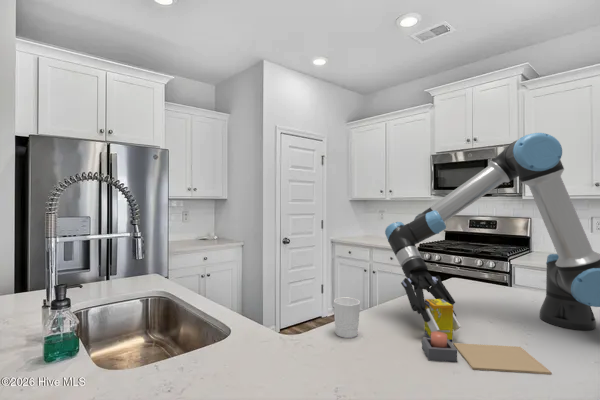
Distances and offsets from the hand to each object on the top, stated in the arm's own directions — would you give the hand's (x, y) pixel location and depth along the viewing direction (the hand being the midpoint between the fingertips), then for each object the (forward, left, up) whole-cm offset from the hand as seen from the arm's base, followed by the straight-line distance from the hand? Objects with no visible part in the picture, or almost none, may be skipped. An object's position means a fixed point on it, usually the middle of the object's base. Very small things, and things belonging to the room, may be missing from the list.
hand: (446, 330), depth 99 cm
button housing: (+4, +8, -4) cm, 10 cm away
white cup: (+28, -3, -4) cm, 29 cm away
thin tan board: (-11, +8, -4) cm, 14 cm away
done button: (+4, +8, -2) cm, 9 cm away
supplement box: (+1, -3, -4) cm, 5 cm away
